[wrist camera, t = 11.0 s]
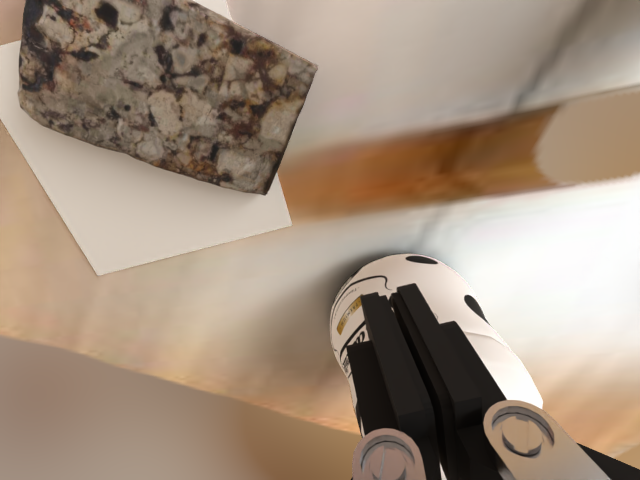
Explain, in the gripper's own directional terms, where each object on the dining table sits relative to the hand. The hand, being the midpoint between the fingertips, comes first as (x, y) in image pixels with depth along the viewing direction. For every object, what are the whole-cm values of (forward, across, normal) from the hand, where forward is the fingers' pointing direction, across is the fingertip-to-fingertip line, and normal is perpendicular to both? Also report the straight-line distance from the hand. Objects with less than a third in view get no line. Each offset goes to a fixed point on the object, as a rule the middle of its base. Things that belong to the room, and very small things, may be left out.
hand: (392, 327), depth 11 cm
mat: (+28, +16, -3) cm, 32 cm away
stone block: (+25, +2, -1) cm, 25 cm away
